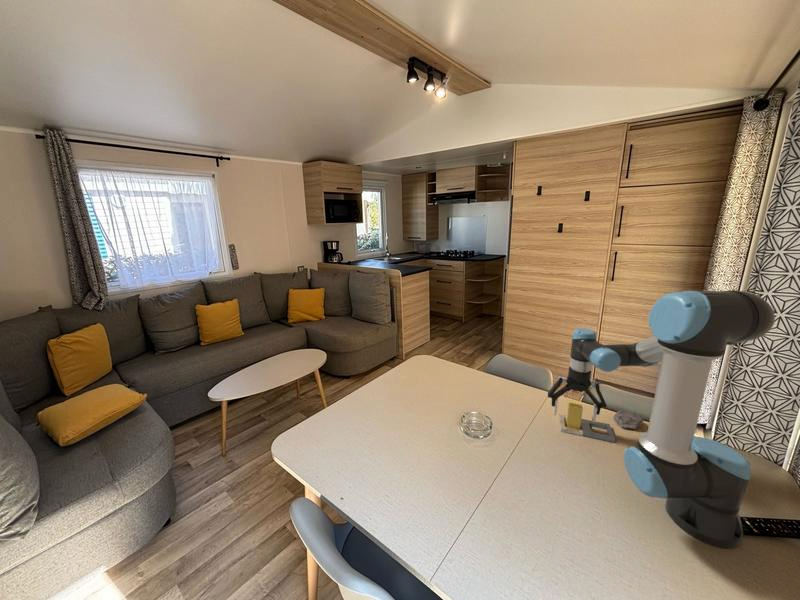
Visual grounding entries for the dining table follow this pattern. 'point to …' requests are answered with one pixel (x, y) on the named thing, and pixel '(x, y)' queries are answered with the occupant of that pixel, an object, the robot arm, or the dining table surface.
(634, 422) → the rock
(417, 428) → the dining table surface
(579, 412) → the block
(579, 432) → the grey flat frame
